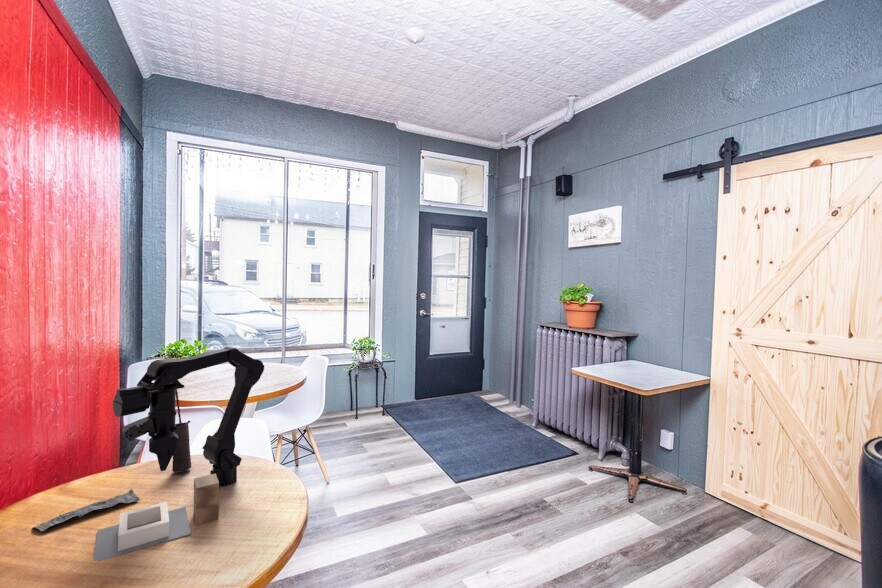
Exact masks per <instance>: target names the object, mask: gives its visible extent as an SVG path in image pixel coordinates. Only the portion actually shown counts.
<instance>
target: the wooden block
mask: <svg viewBox="0 0 882 588" xmlns="http://www.w3.org/2000/svg"><path fill="white" fill-rule="evenodd" d="M219 508H220V487H219V481H218V478H217V476H216V473H215V474H211V475H210V474H207V475H203V476H200V477H199V476H198V477H195V478H193V518H194V522H195V526H199V525H203V524H206V523H209V522H214V521H217V520H219V518H220V517H219V516H220V513H219V512H220V509H219Z"/></svg>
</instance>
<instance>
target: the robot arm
mask: <svg viewBox="0 0 882 588" xmlns="http://www.w3.org/2000/svg"><path fill="white" fill-rule="evenodd" d="M226 363H228V364H229V365H230V366H232V367H234V368H235V370H234V375H233V376H234V386H233V389H232V392H231V395H230V397H229V399H228V402H227V405H226V408H225V410H224V413H223V415H222V417H221V421H220V423H219V427H218V428H217V430H216V432H214V433H213V434H212V435H211V434H208V435H207V436H206V438H205V440H206V441H205V443H204V445H203V446H202V449H203V451H202V455H203V457H204V459H205V460H207V461H209V464H210V465H211V464H212V468H211V469H212V470H210V471H209V475H211V474H215V473H216V476H217V478H218V481H219V488H220V487H221V488H223V487H228V486H230V485H232V484H234V483H236V482H237V481H238V480H237V479H238V478H237V477H238V475H237V473H238V471H237V470H238V467H239V466H240V465H241V461H242V457H241V456H239V455H238V454H236V453H235V447H236V439H235V438H236V436H235V433H236V431H237V427H238V425H239V423H240V420H241V416H242V415H243V411H244V410H245V407H246V403H247V400H248V398H249V396H250V392H251V389H252V388H253V387H254V386H255V385H256V384H257V383H258V382H259V380H260V379H261V377H262V375H263V373H264V370H265V365H264V363H263V362H262V361H261V360H260V359H256V358H253V357H250V356H249V355H248V354H245V353H243V352H242V351H240V349H237V348H236V347H231V346H225V347H224V348H221V349H217V350H212V351H208V352H205V353H199V354H195V355H192V356H188V357H181V358H180V357H179V358H163V359H161V358H160V359H155V360H152V362H150V364H149V365H148V366H147V368H146V371H145V373H144V375H143V376H142V377H141V379H140V380H139V381H138V382H137V384H136V386H133V387H132V386H131V387H124V388H123V387H122V388H118V389H116V394H115V395H114V397H113V401H112V409H113V414H114V415H115V417H116V418H121V417H125V416H129V415H130V416H131V415H134V414H139V413H140V414H141V413H143V412H145V411H147V410H148V409H149V411H148V413H147V416H145V417H142V418H139V419H137V420H136V421H133V422H130V423H129V424H125V425H124V426H123V427H122V434H123V435H124V439H125V440H126V441H127V442H128V443H129V442H132V441H134V440H135V439H136V438H139V437H141V436H144V435H146V434H148V436H149V437H150V438H149V439H148V452H149V453H151V454H155V455H156V458H157V461H158V466H159V470H160V472H164V471H166V470H167V468H168V466H169V464H170V463H171V460H172V459H173V454H174V452H175V450H176V448H177V447H178V446H179V438H178V435H177V434H176V433H174V431H175V430H176V424H177V423H176V415H177V408H176V406H177V400H176V389H177V390H179V389H184V388H185V384H182V382H180V381H179V380H180V379H183V378H185V377H186V376H187V375H189V374H191V373H192V372H196V371H200V370H203V369H208V368H211V367H214V366H218V365H221V364H226ZM153 381H154V382H153Z"/></svg>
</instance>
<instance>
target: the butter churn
mask: <svg viewBox="0 0 882 588" xmlns="http://www.w3.org/2000/svg"><path fill="white" fill-rule="evenodd" d="M176 406H177V408H176V409H177V413H178V414H177V415H178V422H177V423H175V424H176V430H175V431H174V433H176V434H177V435H178V438H179V446H178V447H177V448H176V450H175V452H174V454H173V456H172V466H171V470H172V472H173V473H182V472H185V471H188V470H190V469H191V468H192V459H191V447H190V446H191V445H190V430H189V424H190V423H191V422H192V421H191V420H188V421H187V422H182V416H181V409H180V401H179V394H178V389H176Z"/></svg>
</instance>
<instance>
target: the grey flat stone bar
mask: <svg viewBox="0 0 882 588" xmlns="http://www.w3.org/2000/svg"><path fill="white" fill-rule="evenodd" d="M139 501H140V497H139V496H137V495H136V493H135V492H134V490H133V488H130V489H129V491H127V492H125V493H123V494H119V495H116V496H114V497H110V498H108V499H105V500H102V501H101V500H100V501H97V502H93V503H91V504H87V505H86V506H82V507H80V508H77V509H75V510H71V511H67V512H66V513H63V514H59V515H57V516H56V517H54V518H52V519H50V520H48V521H46V522H42V523H40V524H39V525H36V526H33V529H34V528H35V529H38V530H39V531H41V532H44V531H46V530H47V529H49V528H50V527H52V526H55V525H58V524H60V523H64V522H65V521H68V520H69V519H71V518H73V517H77V516H78V518H82V517H83V516H84V515H86V514H88V513H90V512H92V511H94V510H100V509H106V508H110V507H113V506H116V505H118V504H119V503H120V504H121V503H123V504H130V503H132V502H133V503H134V502H139Z"/></svg>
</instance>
